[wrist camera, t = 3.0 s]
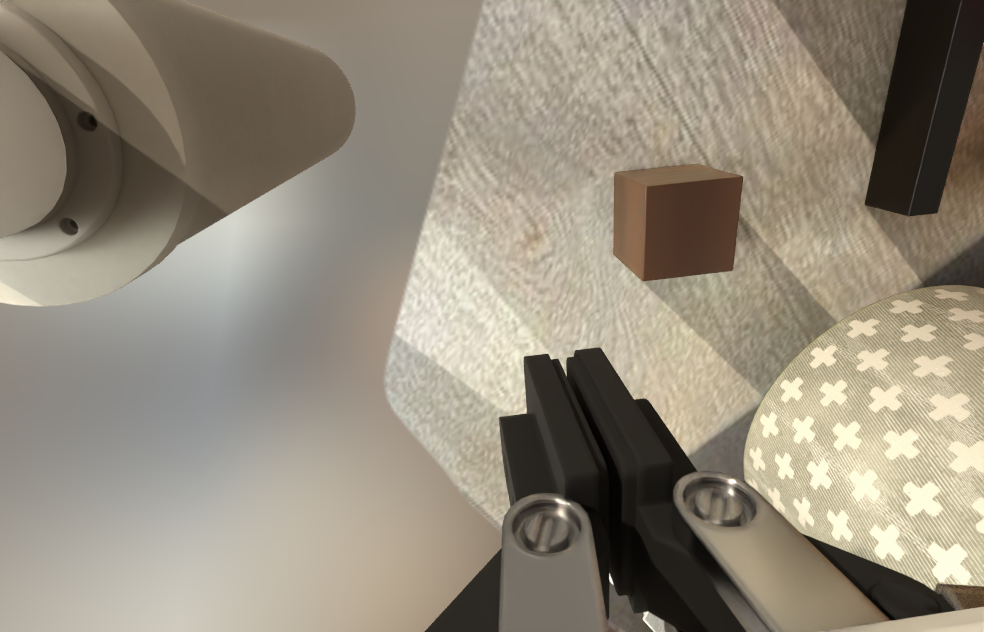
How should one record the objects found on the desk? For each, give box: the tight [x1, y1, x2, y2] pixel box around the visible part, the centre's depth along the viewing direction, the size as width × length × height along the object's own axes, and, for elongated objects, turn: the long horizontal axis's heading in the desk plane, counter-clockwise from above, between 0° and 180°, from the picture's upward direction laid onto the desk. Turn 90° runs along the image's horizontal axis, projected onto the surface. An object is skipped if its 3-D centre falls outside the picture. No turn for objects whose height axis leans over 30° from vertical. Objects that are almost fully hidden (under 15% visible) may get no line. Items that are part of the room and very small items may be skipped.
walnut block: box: [613, 164, 743, 281], centre depth 26 cm, size 4×4×4 cm
